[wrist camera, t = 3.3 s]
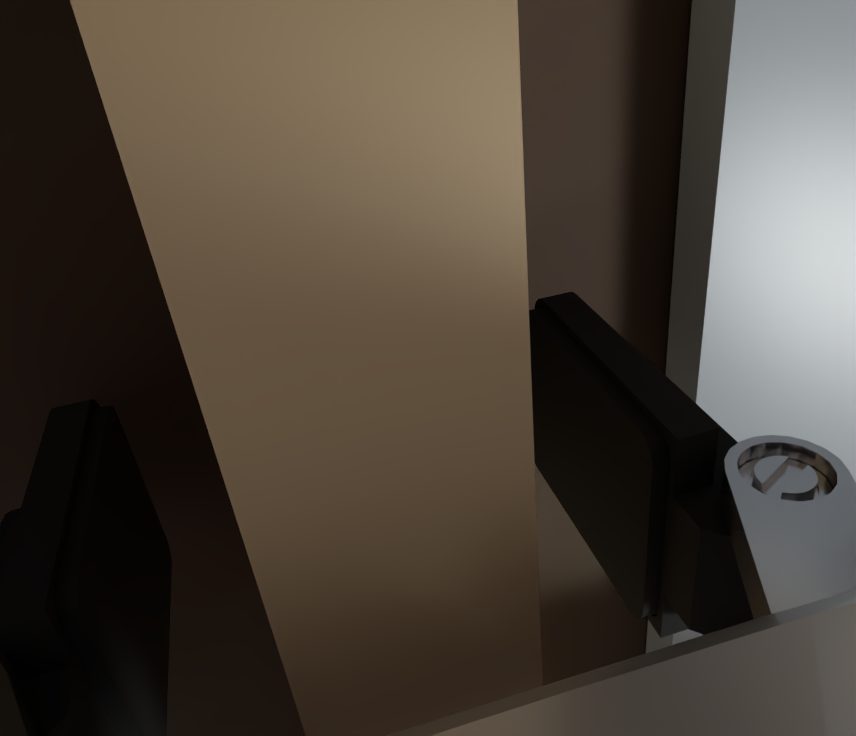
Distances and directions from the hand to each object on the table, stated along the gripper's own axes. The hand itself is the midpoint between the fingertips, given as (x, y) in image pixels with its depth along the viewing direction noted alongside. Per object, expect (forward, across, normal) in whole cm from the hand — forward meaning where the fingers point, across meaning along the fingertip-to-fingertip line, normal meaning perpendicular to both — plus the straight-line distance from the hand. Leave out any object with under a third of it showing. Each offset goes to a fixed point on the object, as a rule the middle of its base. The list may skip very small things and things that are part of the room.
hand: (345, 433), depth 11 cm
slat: (+1, 0, 0) cm, 1 cm away
